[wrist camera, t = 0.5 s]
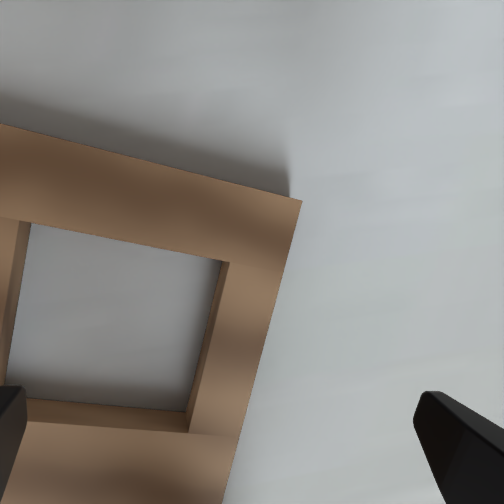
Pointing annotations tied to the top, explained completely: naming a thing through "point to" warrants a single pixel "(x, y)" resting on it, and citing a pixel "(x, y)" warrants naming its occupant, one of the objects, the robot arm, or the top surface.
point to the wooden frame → (215, 339)
